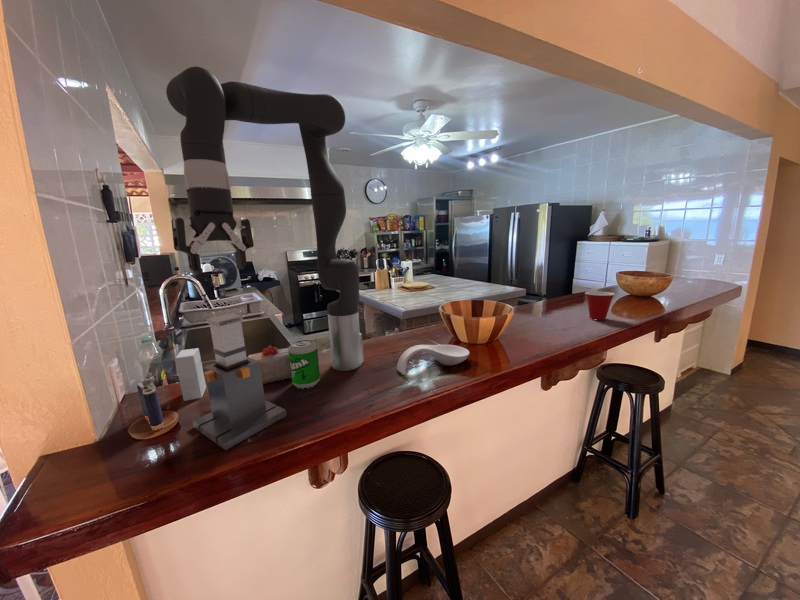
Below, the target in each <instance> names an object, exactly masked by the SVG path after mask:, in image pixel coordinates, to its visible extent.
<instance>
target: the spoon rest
mask: <svg viewBox="0 0 800 600" xmlns="http://www.w3.org/2000/svg"><path fill="white" fill-rule="evenodd" d="M419 352H424V353H427V354H429V355H430V356H431V357H433V358H434V359H435V360H436V361H437V362H439V363H440V364H442V365H443V366H454V365H458V364H460V363H463V362H464V361H465V360H466V359H467V358H468V357H469V356H470V351H469V349H467V348H465V347H462V346H460V345H455V344H416V345H413V346H411V347H409V348H408V349H406V350H405V351H404V352H402V354H401V355H400V357H399V359H398V361H397V364H396V370H397V371H398V372H399V373H400V374H401V375H403V376H405V375H406V373H407V364H408V361H409V359H410V358H411V357H412V356H413V355H414V354H417V353H419Z"/></svg>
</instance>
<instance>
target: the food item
mask: <svg viewBox="0 0 800 600" xmlns="http://www.w3.org/2000/svg"><path fill="white" fill-rule="evenodd" d="M288 348H289V347H286V348H277V346H276V347H275V346H272V345H271V344H269V345H268V346H266V347H265V348H263V349H262V351H261V352H258V353H252V354H248V356H247V357H249V358H252V359H254V360H257V361H260V368H261V375H262V383H263V385H267V384H268V383H269V384H271V383H275V381H276V382H279V381H280V380H281V381H285V379H287V380H290V379H291V380H292V376H291V368H290V359H289V351H288ZM281 381H280V382H281Z"/></svg>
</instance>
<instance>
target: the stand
mask: <svg viewBox="0 0 800 600" xmlns="http://www.w3.org/2000/svg"><path fill="white" fill-rule="evenodd" d="M246 357H247V359H248V363H247V364H245V365H242V366H240V367H237V368H234V369H232V370H229V371H226V372H225V371H223V370H221V369H218V368H217V367H216V365H215V362H214V363H211V364H208V365H205V366H203V373H204V379H205V383H206V388H207V393H208V397H209V404H210V407H211V408H210V409H211V412H209V413H207V414H204V415H202V416H200V417H198V418H195V419H194V420H192V425H193V428H194V429H195V430H197V431H198V432H200V433H201V434H202V435H203V436H204V437H207V438H208V439H209V440H211V441H212V442H214V444H217V445H218V446H219V447H220V448H222V449H223V450H225V451H227V450H229V449H230V448H233V447H235V446H236V445H237V444H240V443H241V442H243V441H245V440H246V439H248V438H250V437H252V436H254V435H256V434H257V433H259V432H261V431H262V430H264V429H266V428H268V427H270V426H272V425H273V424H275V423H277V422H278V420H279V421H281V420H282V419H284V418H286V417H287V409H285V408H283V407H281V406H279V405H277V404H275V403H272V402H271V401H268V399H267V400H266V399H265V398H266V397H265V391H264V384H263V383H262V375H261V368H260V361H257V360H254V359H252V358H249V357H248V356H246ZM276 421H277V422H276ZM269 425H270V426H269Z"/></svg>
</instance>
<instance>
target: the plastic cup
mask: <svg viewBox="0 0 800 600" xmlns="http://www.w3.org/2000/svg"><path fill="white" fill-rule="evenodd" d="M615 294H616V293H615V292H609V291H585V295H586V300H587V307H588V313H589V314H588V315H589V319H590V318H592V319H597V320H604V319H605V320H606V319H607V315H608V313H609V309H610V306H611V303H612V301H613V299H614V296H615ZM592 319H591V320H592ZM597 320H596V321H597ZM605 320H604V321H605Z"/></svg>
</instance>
